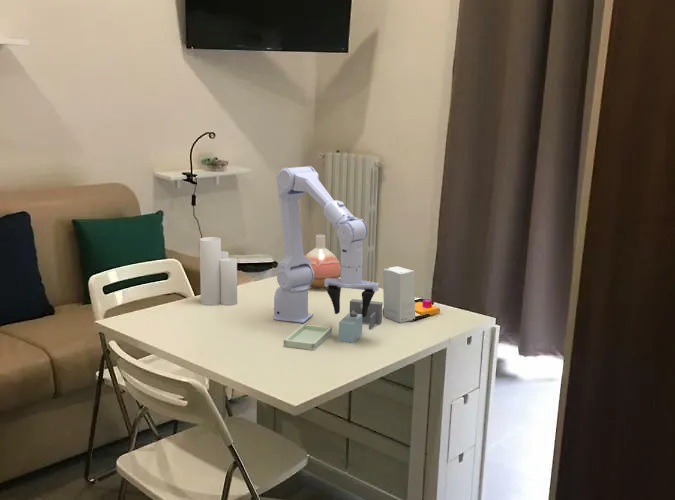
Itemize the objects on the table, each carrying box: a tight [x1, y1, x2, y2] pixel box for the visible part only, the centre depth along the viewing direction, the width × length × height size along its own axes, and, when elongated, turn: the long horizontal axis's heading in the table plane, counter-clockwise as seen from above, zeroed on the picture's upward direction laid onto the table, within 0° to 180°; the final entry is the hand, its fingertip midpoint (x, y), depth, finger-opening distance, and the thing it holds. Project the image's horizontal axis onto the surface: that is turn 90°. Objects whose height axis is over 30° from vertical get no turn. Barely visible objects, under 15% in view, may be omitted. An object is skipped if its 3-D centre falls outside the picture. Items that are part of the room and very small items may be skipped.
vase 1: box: [199, 236, 238, 306], centre depth 235 cm, size 11×7×20 cm, turn 93°
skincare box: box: [382, 265, 416, 323], centre depth 223 cm, size 8×6×15 cm
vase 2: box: [305, 234, 341, 290], centre depth 256 cm, size 14×14×18 cm
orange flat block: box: [415, 298, 441, 316], centre depth 230 cm, size 8×8×4 cm
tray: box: [283, 323, 333, 351], centre depth 204 cm, size 8×14×2 cm, turn 162°
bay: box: [349, 298, 383, 330], centre depth 217 cm, size 9×8×6 cm
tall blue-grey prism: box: [338, 312, 363, 344], centre depth 206 cm, size 4×9×6 cm, turn 163°
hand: (350, 314), depth 205 cm, fingers open, 7 cm apart
